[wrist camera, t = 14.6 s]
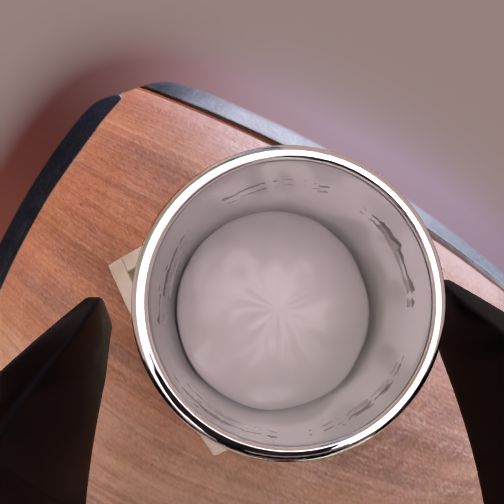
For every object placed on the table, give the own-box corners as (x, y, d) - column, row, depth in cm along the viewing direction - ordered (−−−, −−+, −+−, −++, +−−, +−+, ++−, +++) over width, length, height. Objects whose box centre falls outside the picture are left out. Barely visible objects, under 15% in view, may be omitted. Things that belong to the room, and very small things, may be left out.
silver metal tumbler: (208, 374, 19) (144, 480, 5) (198, 268, 21) (122, 150, 6) (314, 362, 20) (459, 423, 5) (302, 259, 21) (416, 138, 7)
